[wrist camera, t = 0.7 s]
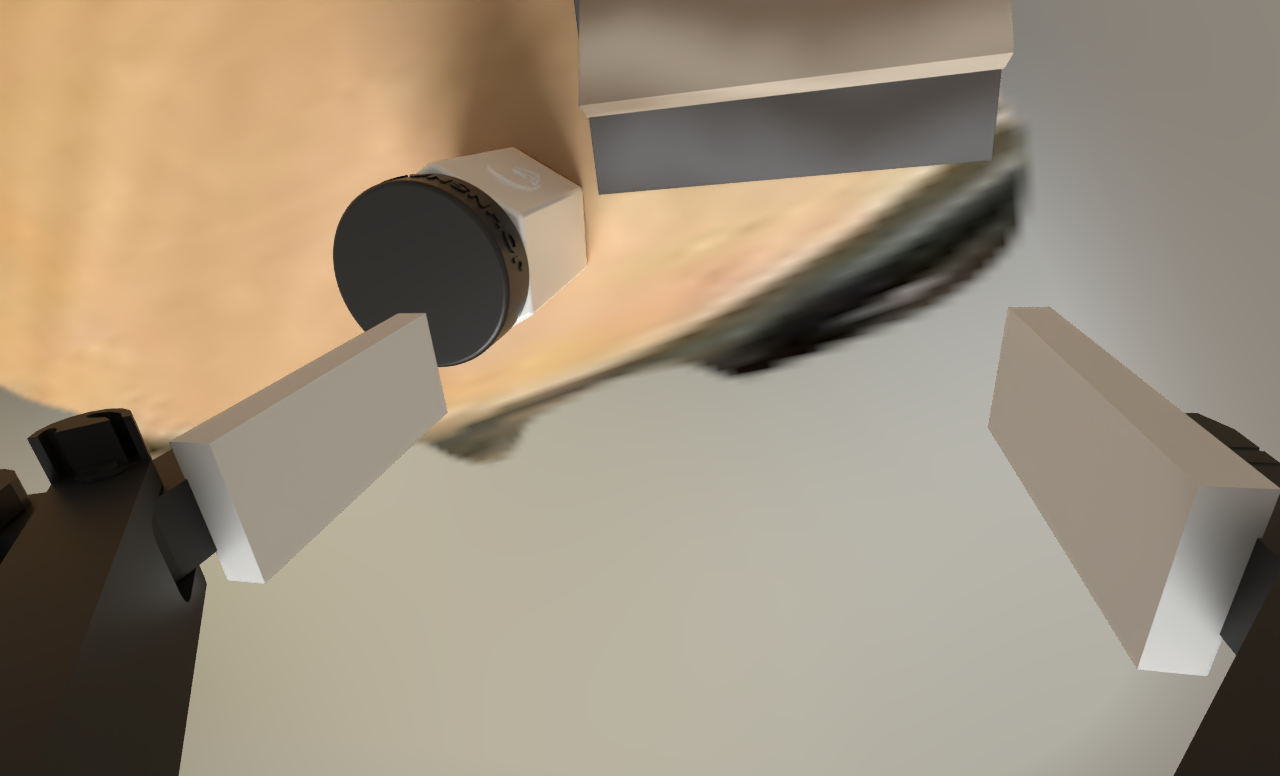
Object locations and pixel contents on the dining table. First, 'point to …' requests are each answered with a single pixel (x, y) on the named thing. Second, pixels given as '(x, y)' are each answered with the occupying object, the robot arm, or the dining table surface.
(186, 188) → the dining table surface
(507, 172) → the jar
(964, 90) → the grey flat panel
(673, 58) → the plank
